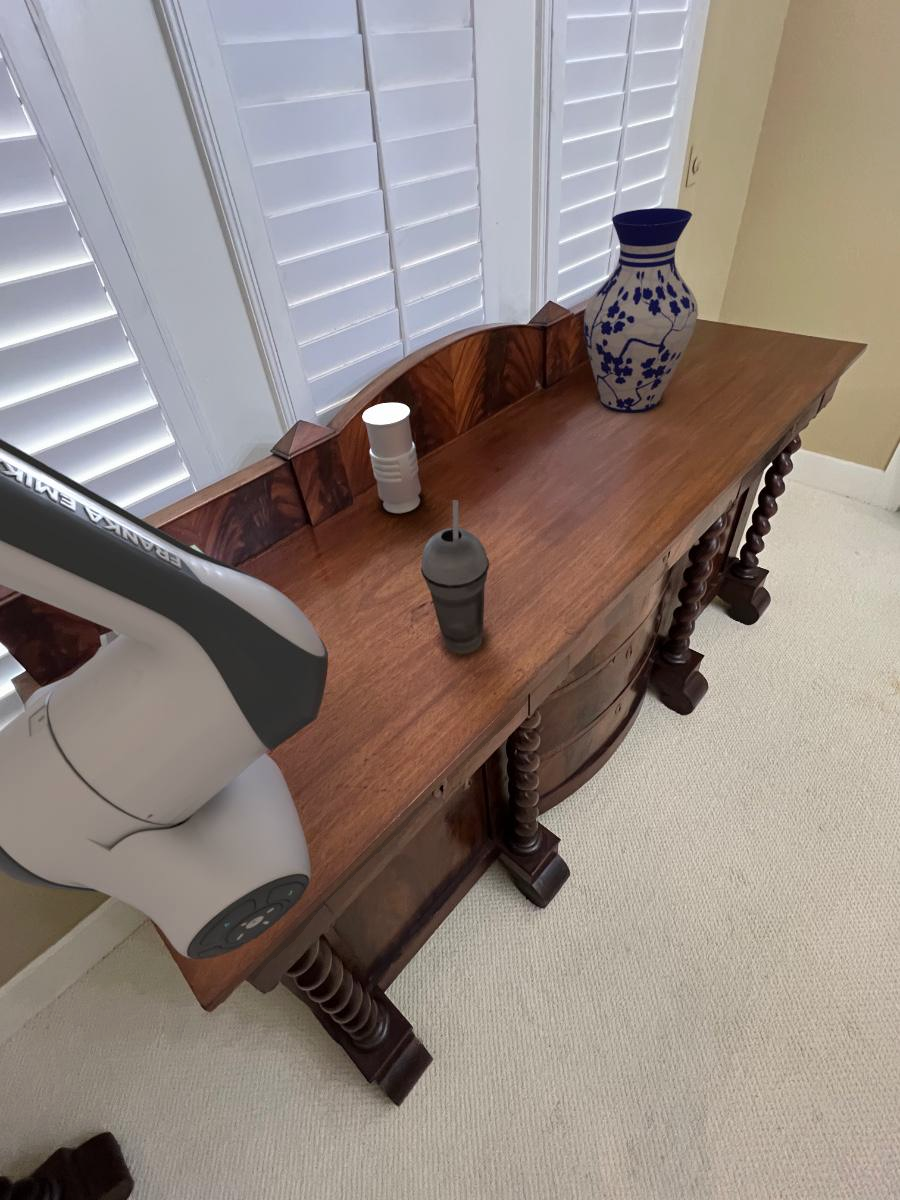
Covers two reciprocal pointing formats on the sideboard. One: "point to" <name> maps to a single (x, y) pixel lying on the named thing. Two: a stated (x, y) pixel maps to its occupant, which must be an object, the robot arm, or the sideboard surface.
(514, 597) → the sideboard surface
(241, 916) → the robot arm
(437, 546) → the beverage cup
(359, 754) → the sideboard surface
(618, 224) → the vase
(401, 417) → the white ribbed cylinder
